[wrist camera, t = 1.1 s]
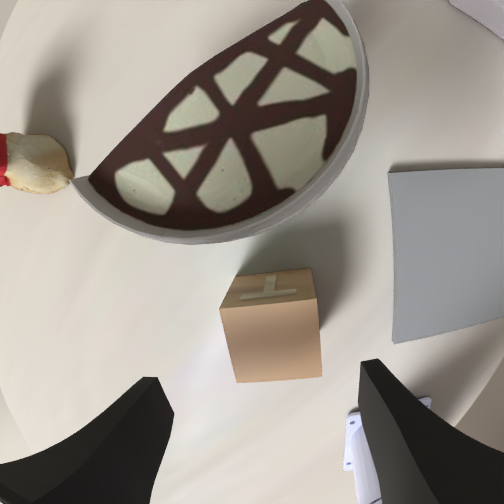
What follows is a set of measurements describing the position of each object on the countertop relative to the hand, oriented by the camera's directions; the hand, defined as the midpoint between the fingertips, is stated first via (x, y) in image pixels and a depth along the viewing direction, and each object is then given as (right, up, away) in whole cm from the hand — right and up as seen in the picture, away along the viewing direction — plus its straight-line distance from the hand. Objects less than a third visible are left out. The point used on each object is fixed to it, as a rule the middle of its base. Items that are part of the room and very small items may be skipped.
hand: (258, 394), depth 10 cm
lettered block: (+1, +1, +11) cm, 11 cm away
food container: (+1, +11, +8) cm, 14 cm away
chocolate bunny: (-18, +12, +10) cm, 24 cm away
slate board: (+15, +5, +8) cm, 17 cm away
